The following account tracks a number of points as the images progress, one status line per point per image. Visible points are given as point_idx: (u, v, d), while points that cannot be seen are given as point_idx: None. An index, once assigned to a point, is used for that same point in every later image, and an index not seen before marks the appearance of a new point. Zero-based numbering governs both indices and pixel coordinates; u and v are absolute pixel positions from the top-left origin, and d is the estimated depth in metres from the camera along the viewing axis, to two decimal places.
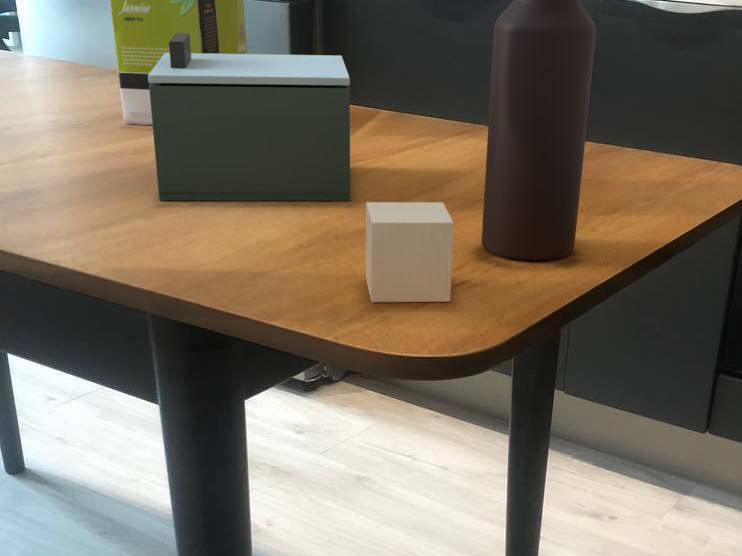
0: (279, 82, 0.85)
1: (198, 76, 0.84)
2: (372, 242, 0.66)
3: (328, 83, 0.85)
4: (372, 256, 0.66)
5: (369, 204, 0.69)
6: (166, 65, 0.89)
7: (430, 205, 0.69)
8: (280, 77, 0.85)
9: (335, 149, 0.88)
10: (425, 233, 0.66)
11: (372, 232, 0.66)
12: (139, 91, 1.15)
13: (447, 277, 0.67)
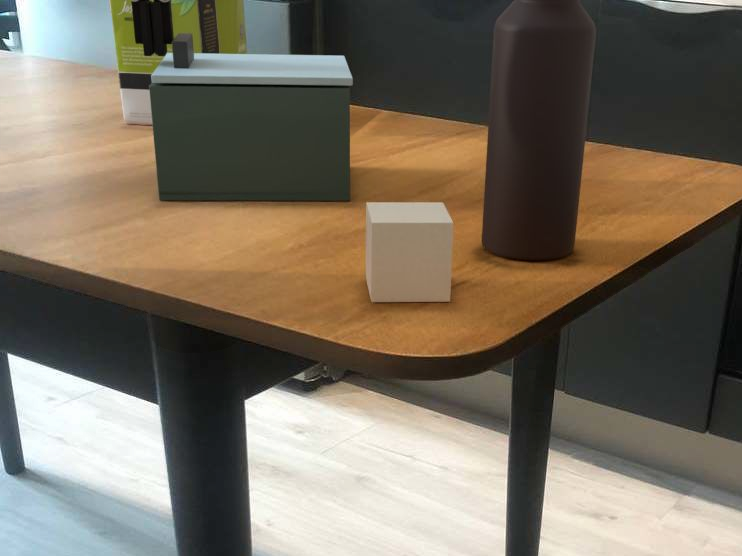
0: (282, 82, 0.85)
1: (201, 76, 0.84)
2: (372, 242, 0.66)
3: (331, 83, 0.85)
4: (372, 256, 0.66)
5: (369, 204, 0.69)
6: (169, 65, 0.89)
7: (430, 205, 0.69)
8: (283, 77, 0.85)
9: (335, 149, 0.88)
10: (425, 233, 0.66)
11: (372, 232, 0.66)
12: (139, 91, 1.15)
13: (447, 277, 0.67)
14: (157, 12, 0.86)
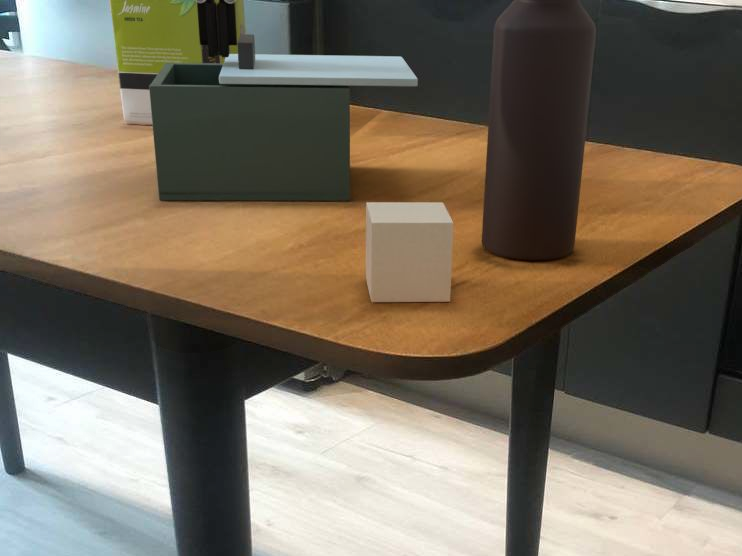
0: (348, 83, 0.86)
1: (268, 77, 0.85)
2: (372, 242, 0.66)
3: (396, 84, 0.86)
4: (372, 256, 0.66)
5: (369, 204, 0.69)
6: (233, 66, 0.89)
7: (430, 205, 0.69)
8: (349, 78, 0.85)
9: (335, 149, 0.88)
10: (425, 233, 0.66)
11: (372, 232, 0.66)
12: (139, 91, 1.15)
13: (447, 277, 0.67)
14: (223, 13, 0.87)
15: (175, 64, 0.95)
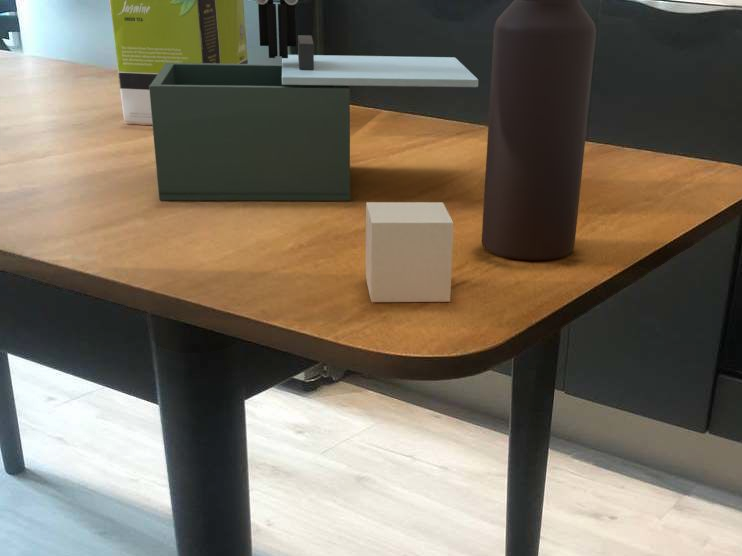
0: (409, 84, 0.86)
1: (331, 78, 0.85)
2: (372, 242, 0.66)
3: (457, 85, 0.86)
4: (372, 256, 0.66)
5: (369, 204, 0.69)
6: (293, 67, 0.90)
7: (430, 205, 0.69)
8: (410, 79, 0.86)
9: (335, 149, 0.88)
10: (425, 233, 0.66)
11: (372, 232, 0.66)
12: (139, 91, 1.15)
13: (447, 277, 0.67)
14: (284, 15, 0.87)
15: (175, 64, 0.95)
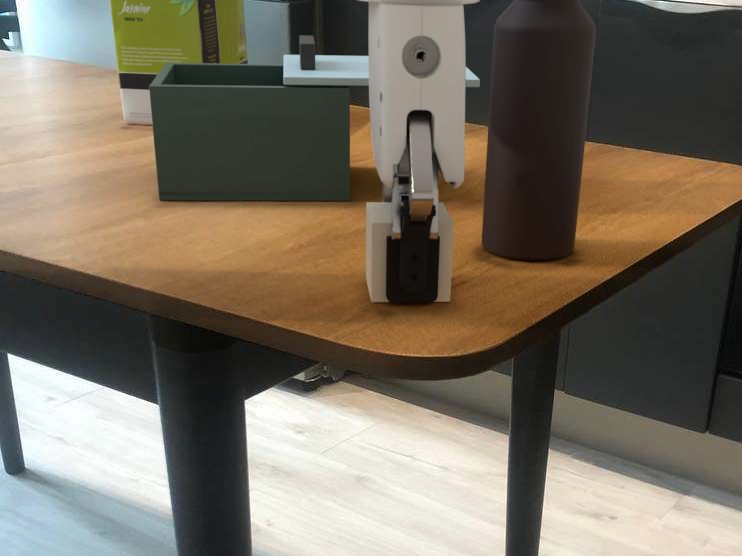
0: None
1: (332, 78, 0.85)
2: (372, 242, 0.66)
3: None
4: (372, 256, 0.66)
5: (369, 204, 0.69)
6: (294, 67, 0.90)
7: None
8: None
9: (335, 149, 0.88)
10: None
11: (372, 232, 0.66)
12: (139, 91, 1.15)
13: (447, 277, 0.67)
14: None
15: (175, 64, 0.95)
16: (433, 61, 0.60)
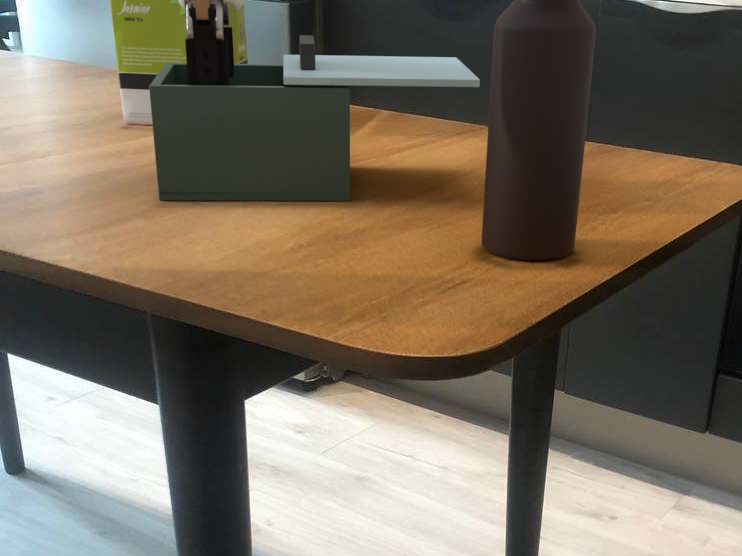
0: (411, 84, 0.86)
1: (332, 78, 0.85)
2: None
3: (459, 85, 0.86)
4: None
5: None
6: (294, 67, 0.90)
7: None
8: (412, 79, 0.86)
9: (335, 149, 0.88)
10: None
11: None
12: (139, 91, 1.15)
13: None
14: (232, 36, 0.94)
15: (175, 64, 0.95)
16: None
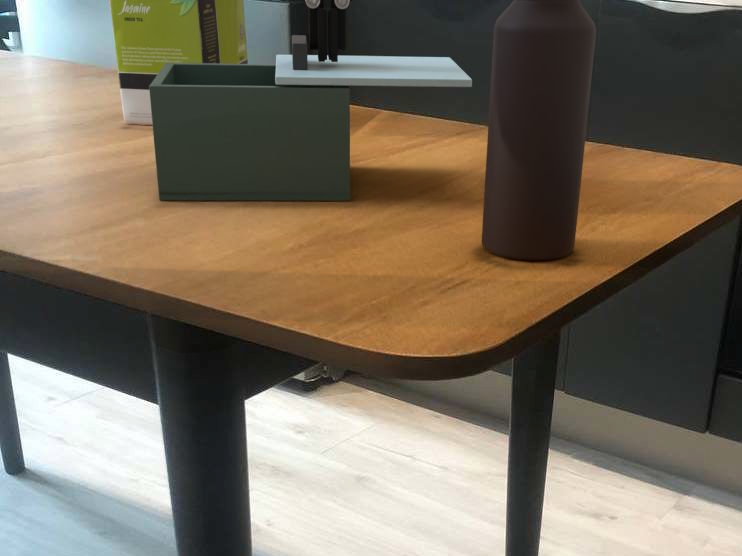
0: (403, 84, 0.86)
1: (324, 78, 0.85)
2: None
3: (451, 85, 0.86)
4: None
5: None
6: (286, 67, 0.90)
7: None
8: (404, 79, 0.86)
9: (335, 149, 0.88)
10: None
11: None
12: (139, 91, 1.15)
13: None
14: (334, 18, 0.88)
15: (175, 64, 0.95)
16: None
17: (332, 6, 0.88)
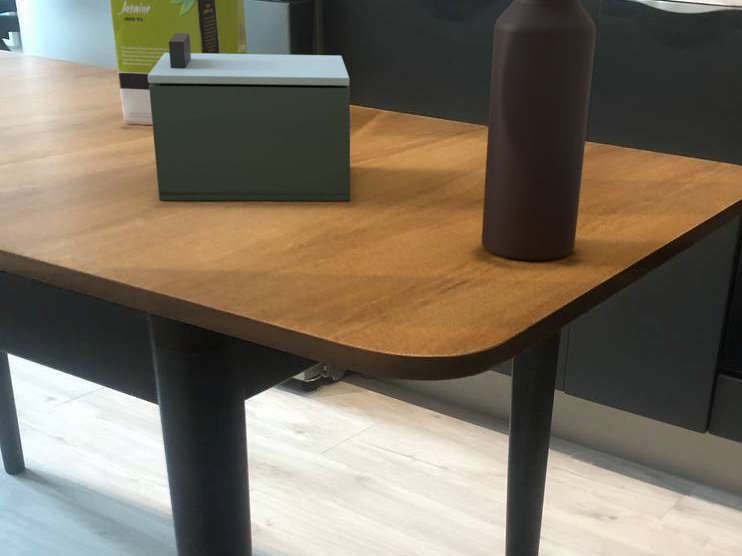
0: (279, 82, 0.85)
1: (198, 76, 0.84)
2: None
3: (328, 83, 0.85)
4: None
5: None
6: (166, 65, 0.89)
7: None
8: (280, 77, 0.85)
9: (335, 149, 0.88)
10: None
11: None
12: (139, 91, 1.15)
13: None
14: None
15: None
16: None
17: None
